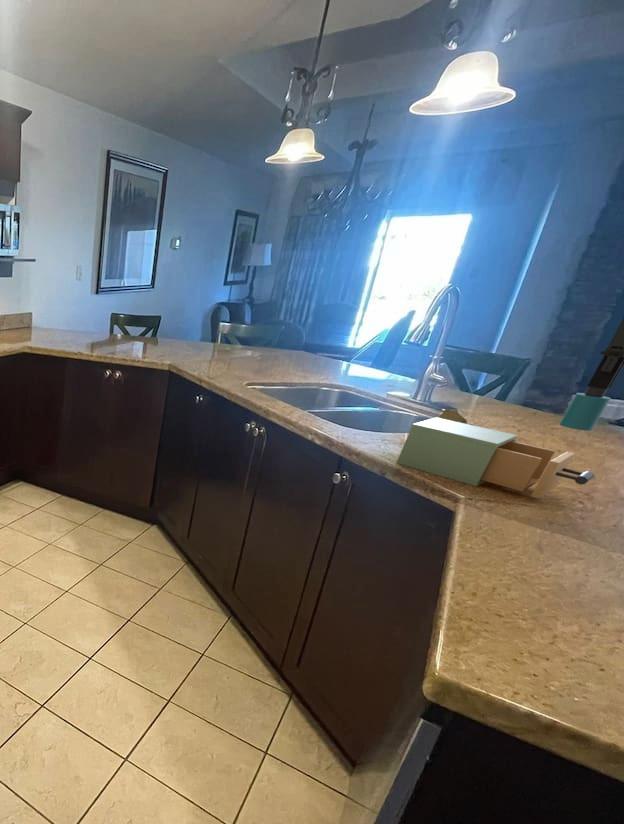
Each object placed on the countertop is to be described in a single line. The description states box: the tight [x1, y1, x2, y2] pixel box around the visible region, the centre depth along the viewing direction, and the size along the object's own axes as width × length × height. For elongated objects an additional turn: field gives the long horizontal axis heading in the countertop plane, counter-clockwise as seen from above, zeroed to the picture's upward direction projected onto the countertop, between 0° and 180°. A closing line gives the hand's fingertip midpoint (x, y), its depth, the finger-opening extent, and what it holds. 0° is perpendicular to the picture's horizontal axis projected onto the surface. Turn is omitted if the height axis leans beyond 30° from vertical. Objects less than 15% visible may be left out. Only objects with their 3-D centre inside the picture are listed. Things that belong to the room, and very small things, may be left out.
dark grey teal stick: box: [559, 364, 622, 432], centre depth 103 cm, size 5×5×14 cm
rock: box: [438, 408, 468, 424], centre depth 128 cm, size 11×9×10 cm
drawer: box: [481, 441, 595, 499], centre depth 104 cm, size 18×13×8 cm
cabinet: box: [396, 416, 519, 487], centre depth 113 cm, size 15×14×10 cm
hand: (598, 386), depth 102 cm, fingers closed on dark grey teal stick, 3 cm apart
